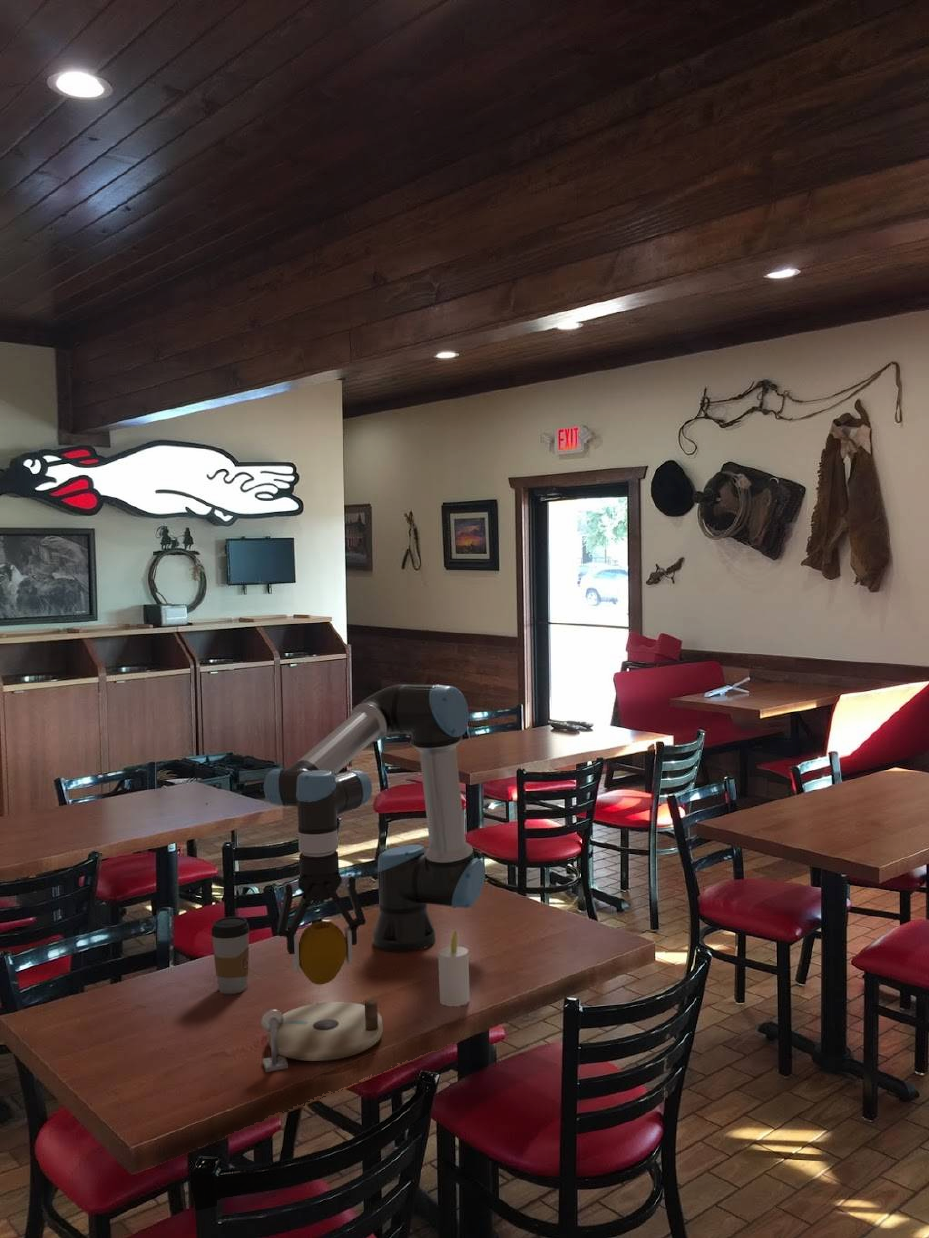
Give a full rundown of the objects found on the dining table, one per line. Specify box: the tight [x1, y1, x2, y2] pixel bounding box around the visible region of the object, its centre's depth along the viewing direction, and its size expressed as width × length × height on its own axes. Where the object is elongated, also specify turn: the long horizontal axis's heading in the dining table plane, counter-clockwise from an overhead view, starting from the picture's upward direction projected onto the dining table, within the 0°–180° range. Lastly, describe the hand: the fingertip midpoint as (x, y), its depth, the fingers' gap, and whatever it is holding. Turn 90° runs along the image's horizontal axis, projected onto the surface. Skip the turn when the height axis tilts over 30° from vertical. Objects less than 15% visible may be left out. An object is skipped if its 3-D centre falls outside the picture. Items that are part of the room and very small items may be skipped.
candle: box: [437, 930, 471, 1008], centre depth 223 cm, size 6×6×15 cm
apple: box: [298, 920, 347, 986], centre depth 205 cm, size 10×10×12 cm
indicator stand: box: [261, 1008, 289, 1073], centre depth 196 cm, size 4×4×10 cm
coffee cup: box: [211, 916, 250, 995], centre depth 234 cm, size 8×8×15 cm
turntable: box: [268, 999, 384, 1062], centre depth 206 cm, size 22×22×7 cm
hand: (323, 965), depth 206 cm, fingers closed on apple, 10 cm apart
